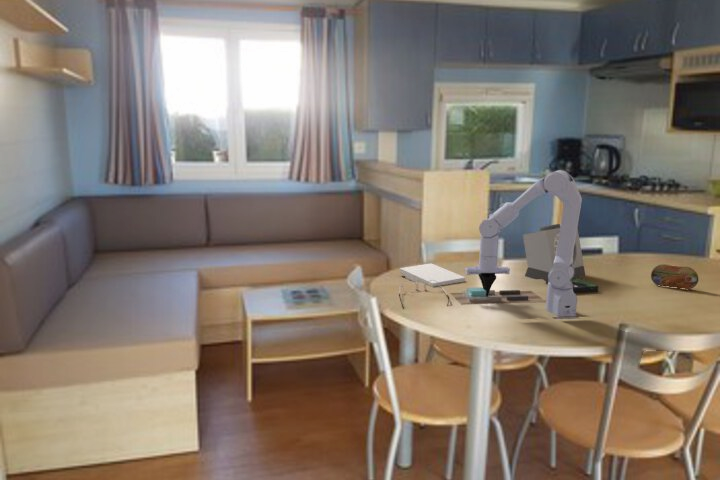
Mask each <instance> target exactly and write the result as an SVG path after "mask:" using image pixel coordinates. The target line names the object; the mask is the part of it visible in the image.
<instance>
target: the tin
mask: <svg viewBox="0 0 720 480" xmlns="http://www.w3.org/2000/svg"><path fill="white" fill-rule="evenodd" d="M698 275H699V274H698V273H697V272H696V271H695V269H693V268H692V267H689V266H683V265H674V264H665V263H661V264H658V265H656V266H654V268H653V269H652V271H651V273H650V278H651V279H650V280H651V281H652V282H653V283H654V284H655V285H656V286H657V285H660V286H669V287H677V288H685V289H689V290H691V289H693V288H695V287H696V286H697V285H698V283H699V276H698ZM660 286H659V287H660Z"/></svg>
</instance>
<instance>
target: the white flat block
mask: <svg viewBox="0 0 720 480" xmlns="http://www.w3.org/2000/svg"><path fill="white" fill-rule="evenodd" d="M399 273H400V274H402V275H404V277H405V279H406V280H408V279H411V280H410V282H414V281H415V282H414V283H418V282H420V283H422V282H423V283H422V284H424V283H425V285H426V286H427V285H428V286H429V287H439V286H445V285H446V286H447V285H451V284H457V283H462V282H466V277H465V276H463V275H460V274H458V273H455V272H453V271H451V270H449V269H446V268H443V267H442V266H438V265H436V264H434V263H425V264H418V265H411V266H406V267H400V268H399ZM430 280H431V281H430ZM434 280H435V281H434ZM428 281H429V282H428ZM436 281H437V282H438V283H439V284H438V283H437V282H436ZM427 282H428V283H427ZM426 283H427V284H426Z"/></svg>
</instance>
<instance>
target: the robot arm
mask: <svg viewBox="0 0 720 480" xmlns="http://www.w3.org/2000/svg"><path fill="white" fill-rule="evenodd" d="M548 193H549V194H551V195H553V196H555V197H557V198H558V199H559V201H560V202H561V203H562V204H563V208H562V209H563V210H562V214H561V215H562V216H561V222H560V233H559V239H558V245H557V252H556V257H555V260H554V263H553V267H552V269H551V271H550V272H549V274H548V280H549V282H548V285H547V291H546V300H545V301H546V302H545V310H546V311H547V312H549V313H551V314H553V315H554V316H556V317H554V316H553V317H552V319H554V320H562V319H563V320H564V319H567V320H568V319H579V316H577V315H576V314H577V308H578V307H577V305H578V295H577V294H575V293H574V292H573V284H572V283H571V281H570V279H571V278H572V277H573V276H574V268H573V251H574V245H575V239H576V233H577V228H579V227H578V225H579V220H580V219H579V218H580V213H581V209H582V208H581V207H582V203H583V197H582V196H581V193H580V191H579V188H578V186H577V184H576V181H575V180H574V177H573V176H572V175H571V174H569V172H568V171H566V170H563V169H557V170H555V171H552V172H549V173H548V174H547V175H545V176H544V177H542V178H541V179H539V180H537V181H536V182H534V183H533V184H532V185H531V186H530V187H528V188H527V189H526V190H525V191H524V192H523V193H521V194H520V195H519V196H518V197H517V198H516V199H515V200H514V201H513V202H509V201H508V202H507V201H506V202H505V203H503V202H502V203H501V204H500V205H499V208H498V209H497V210H495V212H492V213H490V214H489V215H488V217H489V218H486V219H483V220H482V222H481V223H480V224H479V227H478V230H479V234H480V243H479V255H478V256H479V257H478V258H479V259H478V262H479V263H478V266H472V267H471V266H470V267H465V268H464V274H465V275H466V276H470V275H478V278H479V280H480V283H481V286H482V288H483V289H484V290H486V296H488V294H489V291H490V290H491V288H492V285H493V284H494V283H495V281H496V279H497V275H502V274H504V275H510V272H511V269H510V268H509V267H508V266H498V254H499V253H498V252H499V235H500V233H501V232H502V229H504V228H506V227H507V226H508V225H509V224H511V223H512V222H513V221H514V220H516V219H517V218H518V217H519V216H520V210H522V209H523V208H524V207H525V206H527V205H528V204H529V203H530V202H531V201H533V200H534V199H535V198H537V197H538V196H541V195H546V194H548Z"/></svg>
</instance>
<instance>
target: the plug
mask: <svg viewBox="0 0 720 480" xmlns="http://www.w3.org/2000/svg"><path fill="white" fill-rule="evenodd" d="M466 291H467V292H468V293H469V294H470V295H471V296H486V290H484V289H483V286H482V287H467V289H466Z"/></svg>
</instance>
